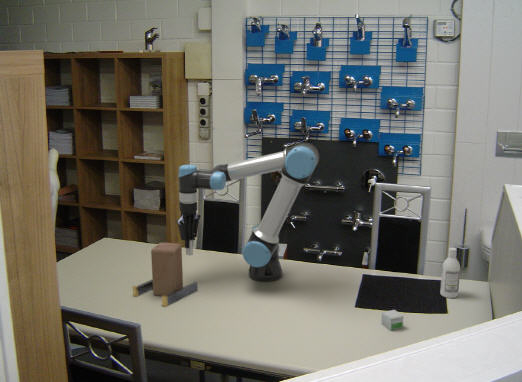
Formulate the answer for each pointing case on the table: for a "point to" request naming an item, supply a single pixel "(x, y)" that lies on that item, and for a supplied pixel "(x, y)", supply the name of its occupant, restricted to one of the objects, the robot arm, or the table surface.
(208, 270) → the table surface
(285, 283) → the table surface
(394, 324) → the small box
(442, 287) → the bath foam
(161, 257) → the wooden block
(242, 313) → the table surface
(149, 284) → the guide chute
